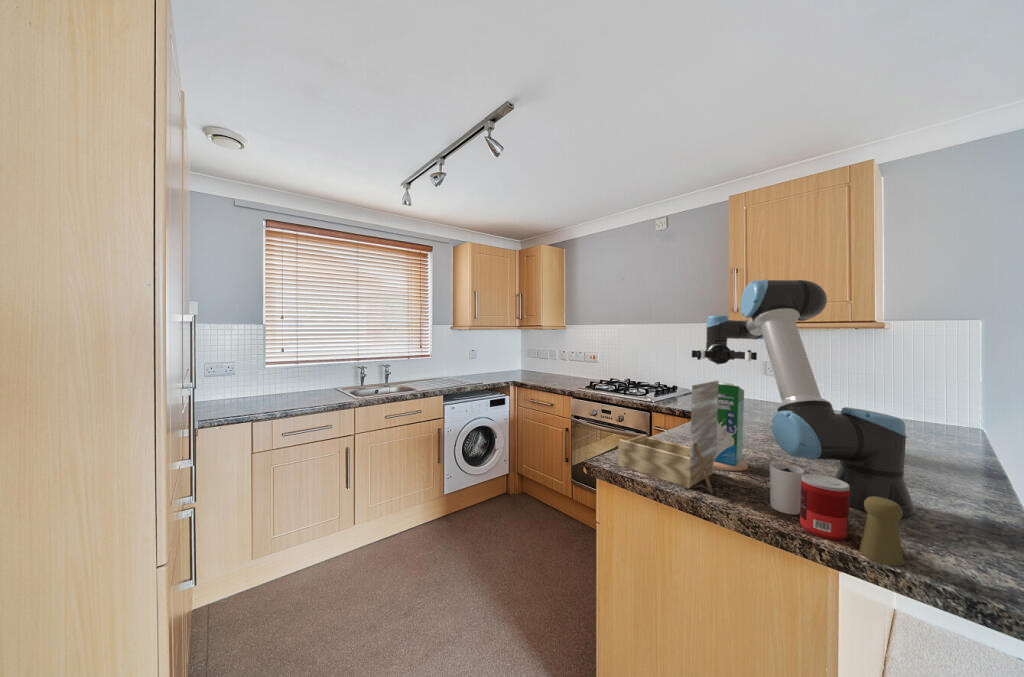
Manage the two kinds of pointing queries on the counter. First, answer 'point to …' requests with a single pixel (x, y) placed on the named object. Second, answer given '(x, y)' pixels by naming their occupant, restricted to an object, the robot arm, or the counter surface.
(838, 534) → the canned food
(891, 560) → the cork
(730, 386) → the milk carton
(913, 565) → the counter surface
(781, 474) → the white cylindrical container
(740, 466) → the peach round coaster
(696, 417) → the cold frame
